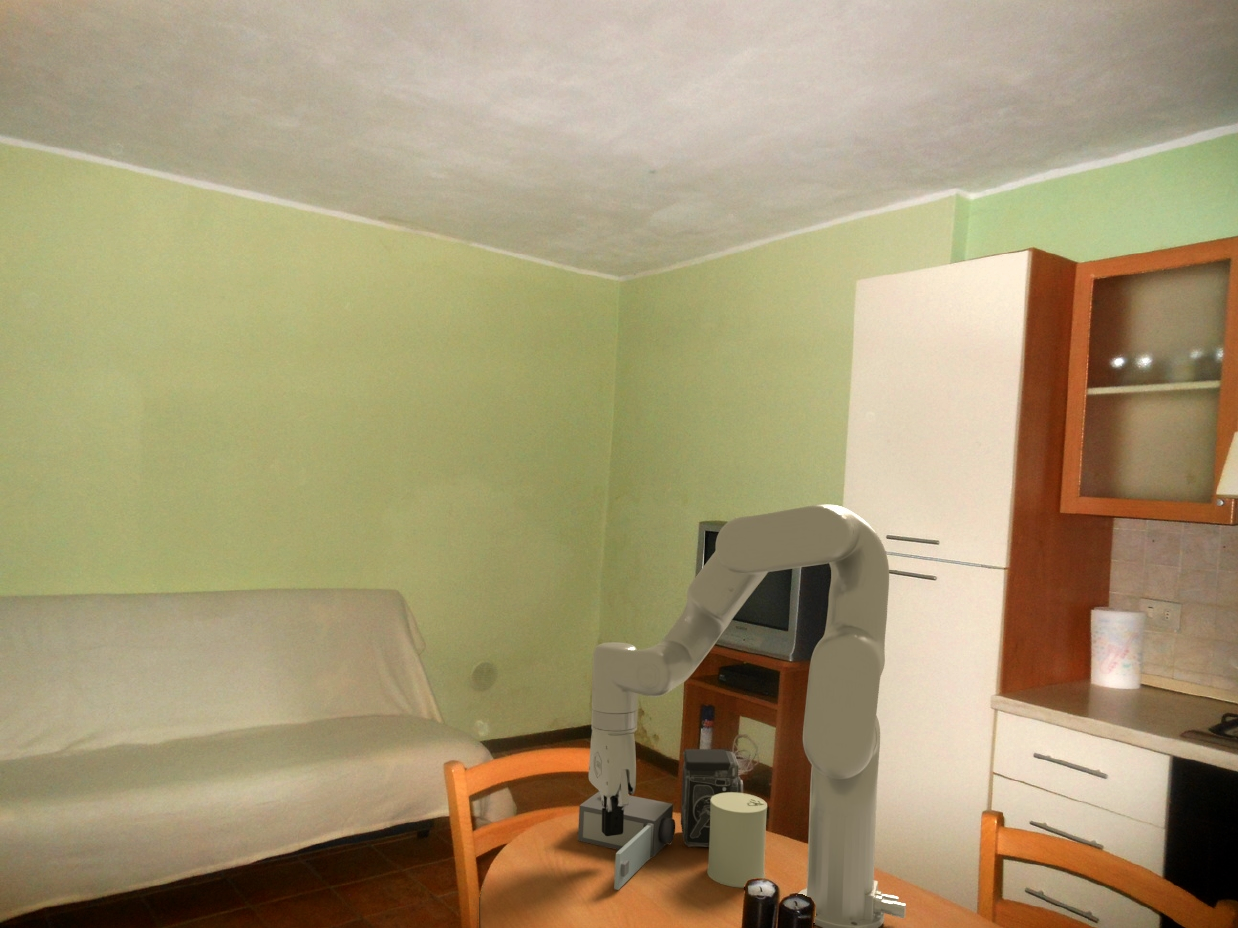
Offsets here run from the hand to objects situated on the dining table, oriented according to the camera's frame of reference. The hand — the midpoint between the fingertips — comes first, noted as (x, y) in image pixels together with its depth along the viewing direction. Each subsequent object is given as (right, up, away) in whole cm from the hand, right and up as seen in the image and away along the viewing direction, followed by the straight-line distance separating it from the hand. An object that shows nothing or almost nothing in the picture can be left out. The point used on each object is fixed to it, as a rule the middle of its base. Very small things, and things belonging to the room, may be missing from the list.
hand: (612, 833), depth 138 cm
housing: (+2, -5, +10) cm, 11 cm away
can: (+20, -6, -2) cm, 21 cm away
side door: (+4, -5, -4) cm, 7 cm away
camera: (+17, -6, +11) cm, 21 cm away
